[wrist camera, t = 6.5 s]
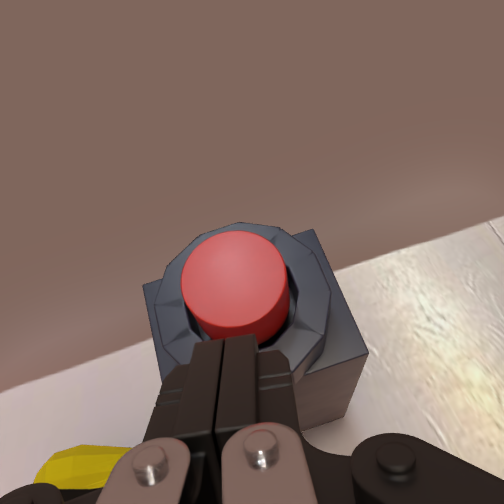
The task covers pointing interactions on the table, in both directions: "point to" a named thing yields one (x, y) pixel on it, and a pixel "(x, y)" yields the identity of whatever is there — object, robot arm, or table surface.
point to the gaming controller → (80, 469)
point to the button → (236, 286)
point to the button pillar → (290, 334)
